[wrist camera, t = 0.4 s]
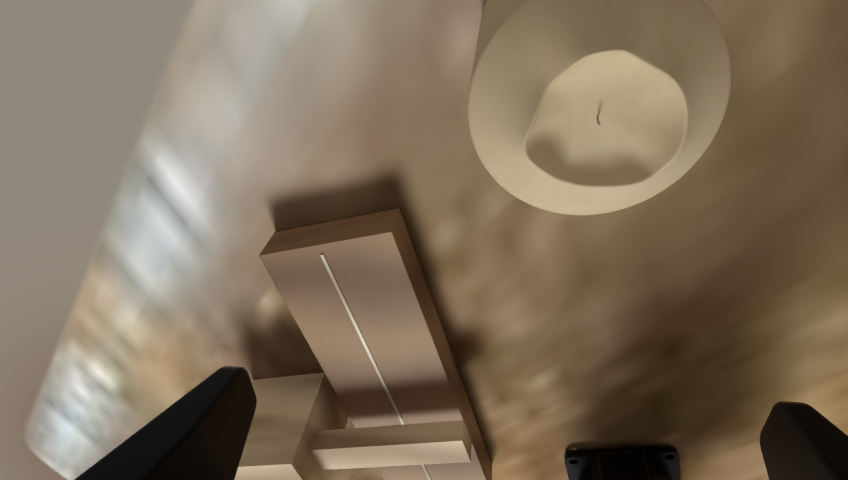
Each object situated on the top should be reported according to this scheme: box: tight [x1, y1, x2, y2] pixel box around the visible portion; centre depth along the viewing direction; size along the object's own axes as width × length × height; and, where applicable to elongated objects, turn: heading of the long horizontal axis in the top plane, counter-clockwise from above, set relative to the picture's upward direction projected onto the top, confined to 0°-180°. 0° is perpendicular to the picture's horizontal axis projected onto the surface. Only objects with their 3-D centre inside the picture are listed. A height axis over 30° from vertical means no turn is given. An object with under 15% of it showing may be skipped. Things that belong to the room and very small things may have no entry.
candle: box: [468, 0, 732, 215], centre depth 14 cm, size 6×6×10 cm
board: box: [259, 208, 492, 480], centre depth 28 cm, size 20×6×2 cm, turn 16°
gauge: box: [234, 372, 472, 480], centre depth 29 cm, size 4×14×6 cm, turn 106°
